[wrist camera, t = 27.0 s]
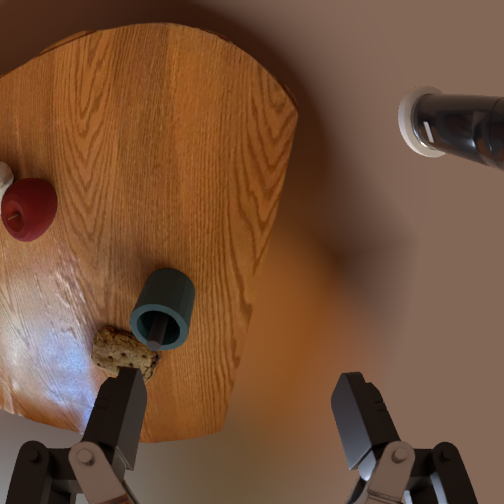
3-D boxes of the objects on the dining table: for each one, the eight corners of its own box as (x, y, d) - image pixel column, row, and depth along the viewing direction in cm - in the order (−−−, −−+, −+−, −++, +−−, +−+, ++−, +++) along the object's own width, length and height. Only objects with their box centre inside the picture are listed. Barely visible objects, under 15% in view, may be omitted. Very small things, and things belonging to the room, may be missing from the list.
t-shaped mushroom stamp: (181, 286, 47) (168, 339, 35) (182, 301, 48) (170, 355, 37) (156, 285, 47) (136, 336, 35) (157, 300, 48) (139, 352, 36)
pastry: (75, 328, 51) (69, 338, 48) (143, 316, 50) (139, 326, 48) (114, 383, 59) (111, 392, 56) (178, 377, 58) (177, 387, 55)
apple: (54, 160, 37) (18, 174, 28) (76, 212, 41) (45, 236, 32) (20, 185, 38) (-16, 202, 29) (41, 232, 42) (9, 257, 33)
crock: (194, 269, 47) (186, 306, 38) (195, 312, 50) (189, 352, 41) (143, 266, 46) (125, 301, 37) (148, 309, 50) (134, 347, 41)
